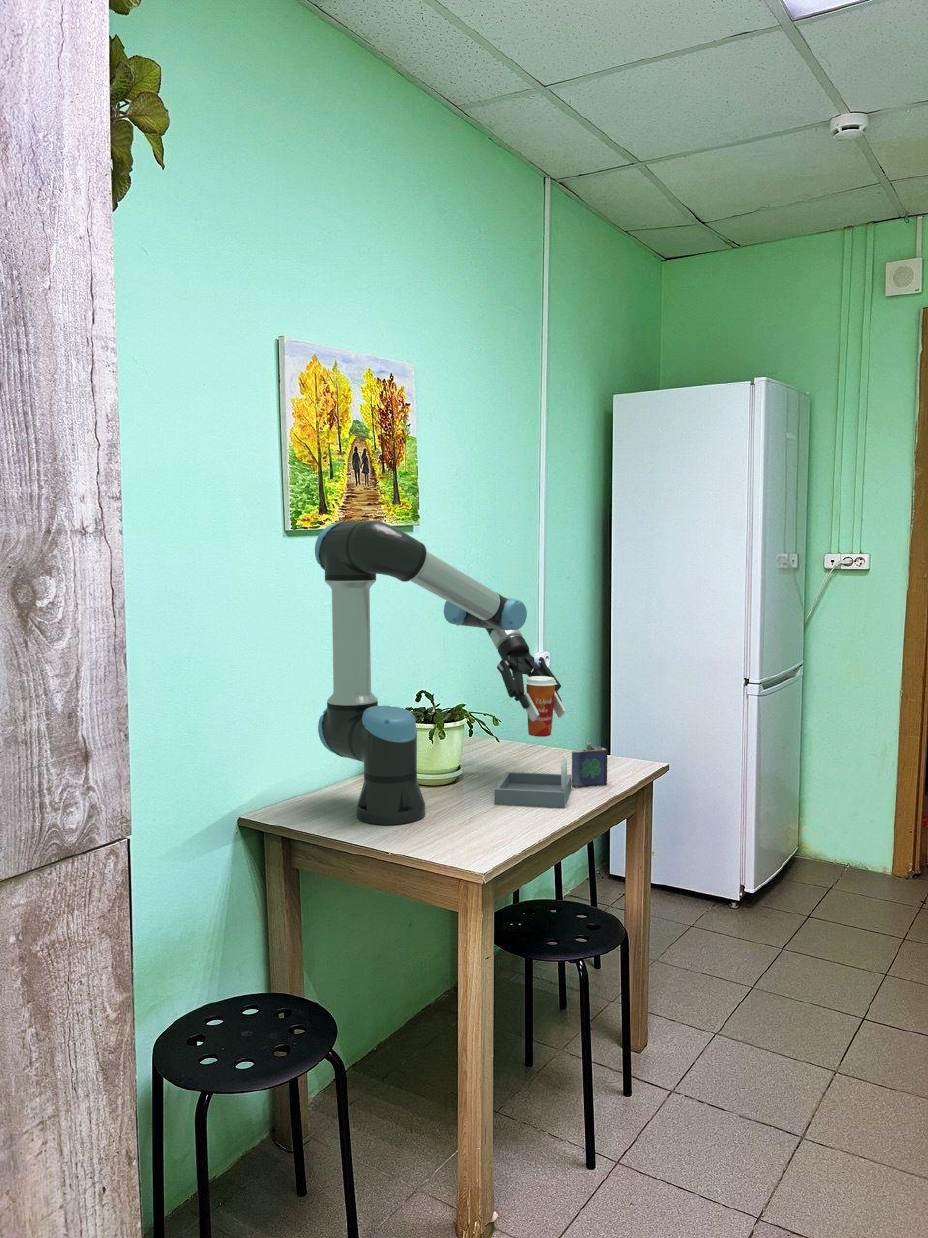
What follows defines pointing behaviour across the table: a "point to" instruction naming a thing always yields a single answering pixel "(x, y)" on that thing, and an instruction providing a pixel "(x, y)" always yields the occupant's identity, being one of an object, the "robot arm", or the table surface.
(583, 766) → the flask
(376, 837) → the table surface
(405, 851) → the table surface
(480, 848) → the table surface
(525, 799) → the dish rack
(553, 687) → the paper cup
